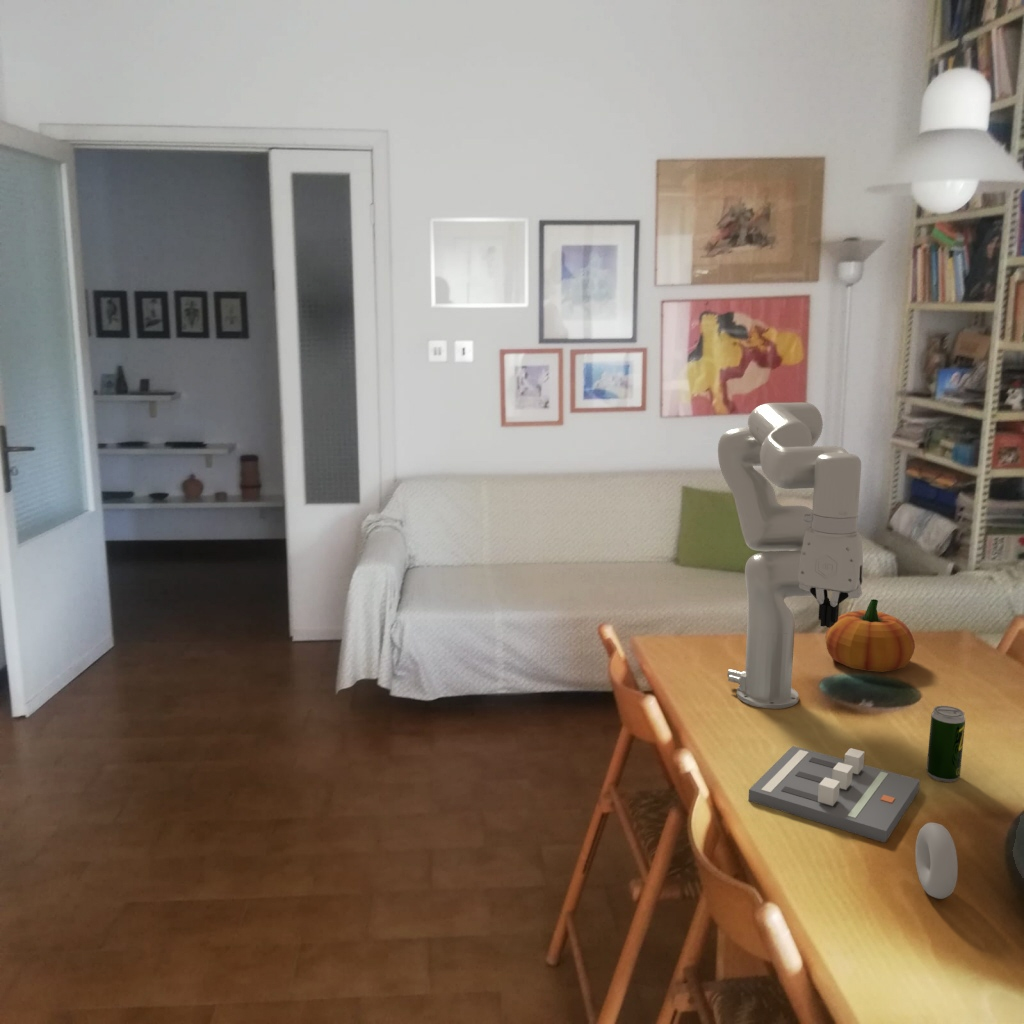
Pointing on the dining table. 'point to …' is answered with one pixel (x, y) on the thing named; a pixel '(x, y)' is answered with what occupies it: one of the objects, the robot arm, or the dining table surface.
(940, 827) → the donut
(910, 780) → the panel
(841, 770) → the handle
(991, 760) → the dining table surface
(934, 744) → the beer can
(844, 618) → the pumpkin
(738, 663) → the dining table surface
